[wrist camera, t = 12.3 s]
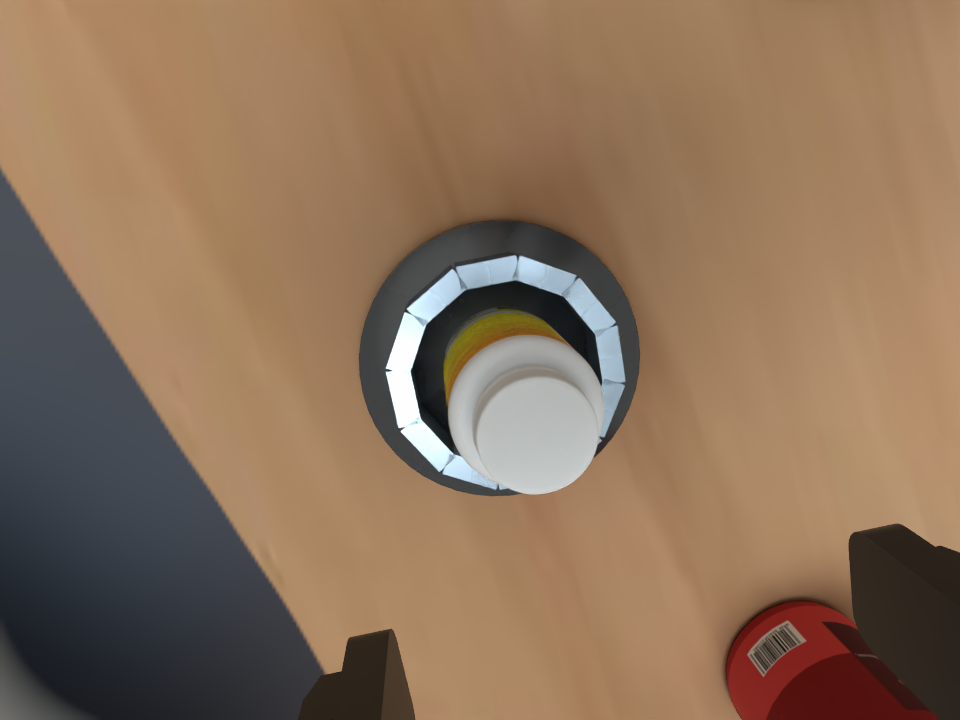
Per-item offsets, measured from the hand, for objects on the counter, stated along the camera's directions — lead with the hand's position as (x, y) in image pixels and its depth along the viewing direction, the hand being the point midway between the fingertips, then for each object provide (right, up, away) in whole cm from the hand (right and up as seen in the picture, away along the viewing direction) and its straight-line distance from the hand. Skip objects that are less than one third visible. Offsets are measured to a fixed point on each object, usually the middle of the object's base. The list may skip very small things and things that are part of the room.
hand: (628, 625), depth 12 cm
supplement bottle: (-1, +4, +20) cm, 20 cm away
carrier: (-2, +5, +21) cm, 21 cm away
